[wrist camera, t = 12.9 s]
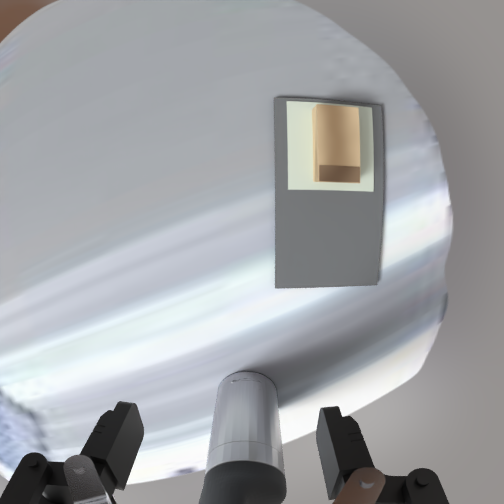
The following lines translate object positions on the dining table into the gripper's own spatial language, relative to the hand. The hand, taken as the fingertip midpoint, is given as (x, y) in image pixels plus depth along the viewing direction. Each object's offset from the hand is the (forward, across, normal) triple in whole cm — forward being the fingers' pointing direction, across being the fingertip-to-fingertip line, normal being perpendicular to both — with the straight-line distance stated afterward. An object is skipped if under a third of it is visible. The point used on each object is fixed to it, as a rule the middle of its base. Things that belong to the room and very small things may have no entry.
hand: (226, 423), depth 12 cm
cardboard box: (+27, -11, -14) cm, 33 cm away
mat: (+28, -11, -8) cm, 31 cm away
